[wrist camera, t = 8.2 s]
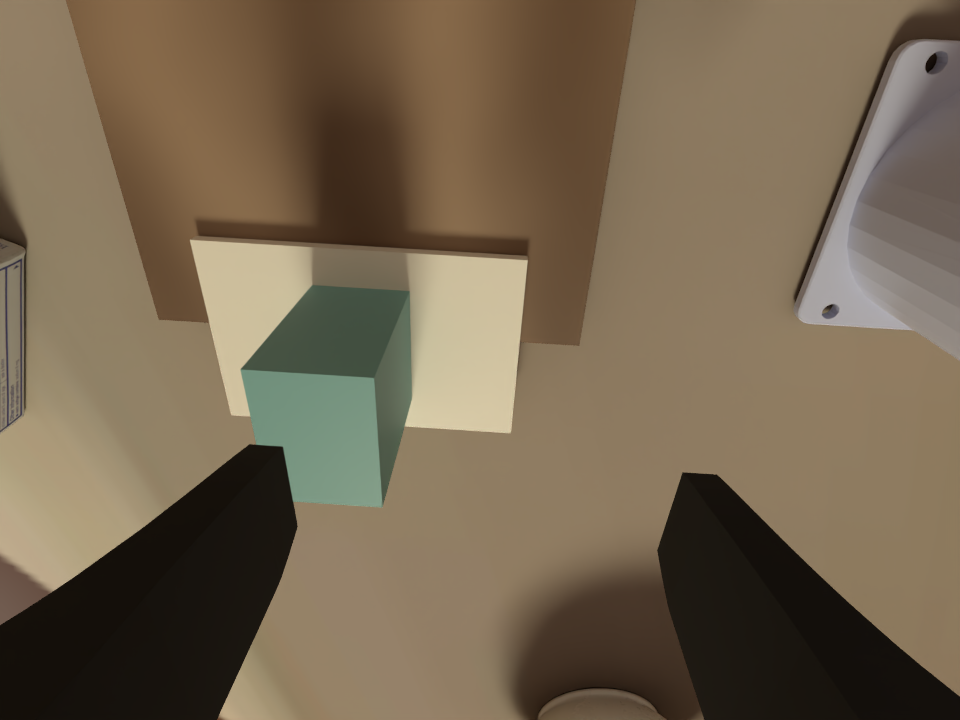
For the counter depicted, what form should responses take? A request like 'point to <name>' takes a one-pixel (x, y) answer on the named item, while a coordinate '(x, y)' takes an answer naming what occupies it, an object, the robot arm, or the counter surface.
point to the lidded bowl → (599, 706)
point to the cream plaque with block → (360, 350)
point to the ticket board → (363, 131)
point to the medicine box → (11, 333)
